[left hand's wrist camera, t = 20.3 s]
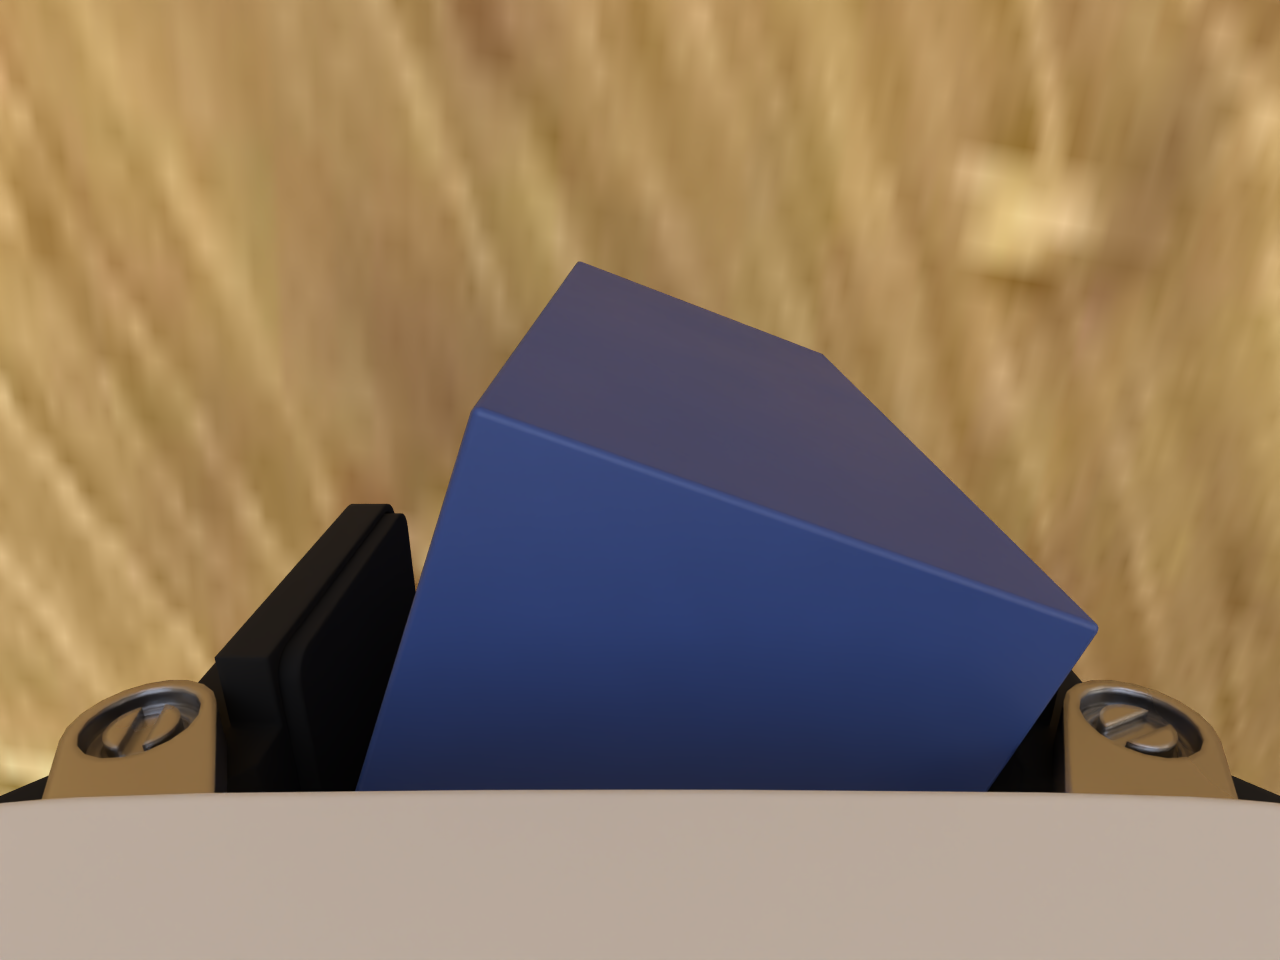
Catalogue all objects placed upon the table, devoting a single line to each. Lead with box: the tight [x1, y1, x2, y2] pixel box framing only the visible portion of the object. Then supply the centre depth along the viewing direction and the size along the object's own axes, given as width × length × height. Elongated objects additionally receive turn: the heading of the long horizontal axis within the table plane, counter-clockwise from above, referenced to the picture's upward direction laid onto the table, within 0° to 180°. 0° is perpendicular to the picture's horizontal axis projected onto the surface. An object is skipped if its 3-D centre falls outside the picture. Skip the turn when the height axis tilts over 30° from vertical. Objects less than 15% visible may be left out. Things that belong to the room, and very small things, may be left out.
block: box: [355, 262, 1098, 792], centre depth 12 cm, size 5×8×10 cm
